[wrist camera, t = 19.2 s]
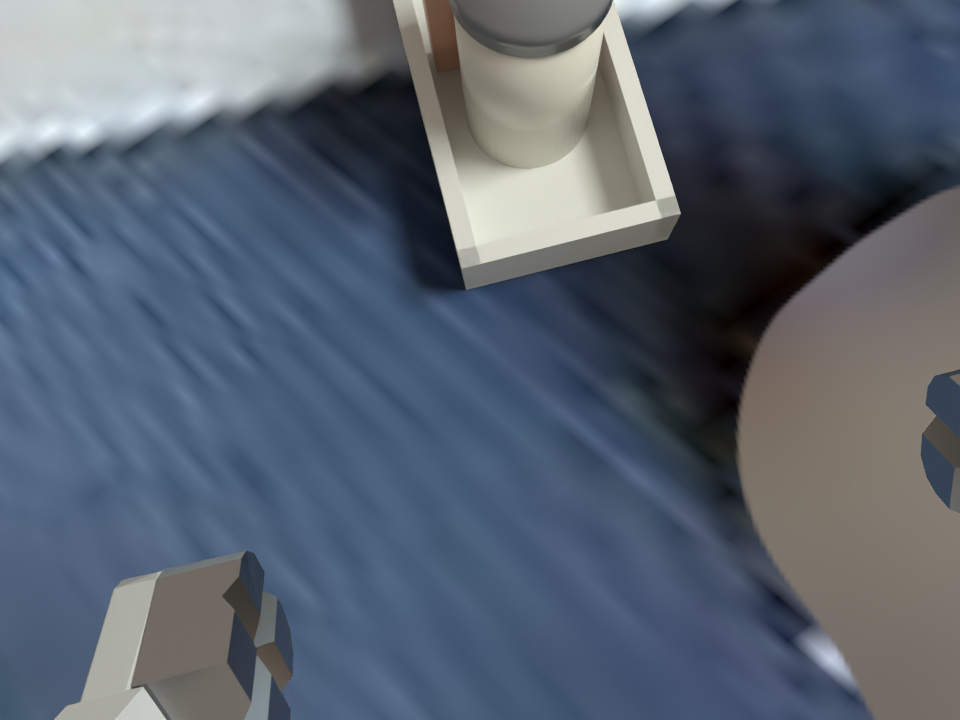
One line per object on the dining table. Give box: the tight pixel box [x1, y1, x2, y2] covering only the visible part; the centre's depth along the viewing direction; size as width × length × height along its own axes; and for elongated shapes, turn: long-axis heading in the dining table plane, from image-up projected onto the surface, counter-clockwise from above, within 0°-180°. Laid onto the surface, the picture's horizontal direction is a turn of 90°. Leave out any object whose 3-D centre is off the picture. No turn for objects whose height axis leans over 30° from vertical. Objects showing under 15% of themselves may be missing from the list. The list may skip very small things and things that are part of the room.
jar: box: [448, 0, 613, 169], centre depth 33 cm, size 6×6×11 cm
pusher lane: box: [392, 0, 681, 290], centre depth 34 cm, size 9×20×10 cm, turn 14°
